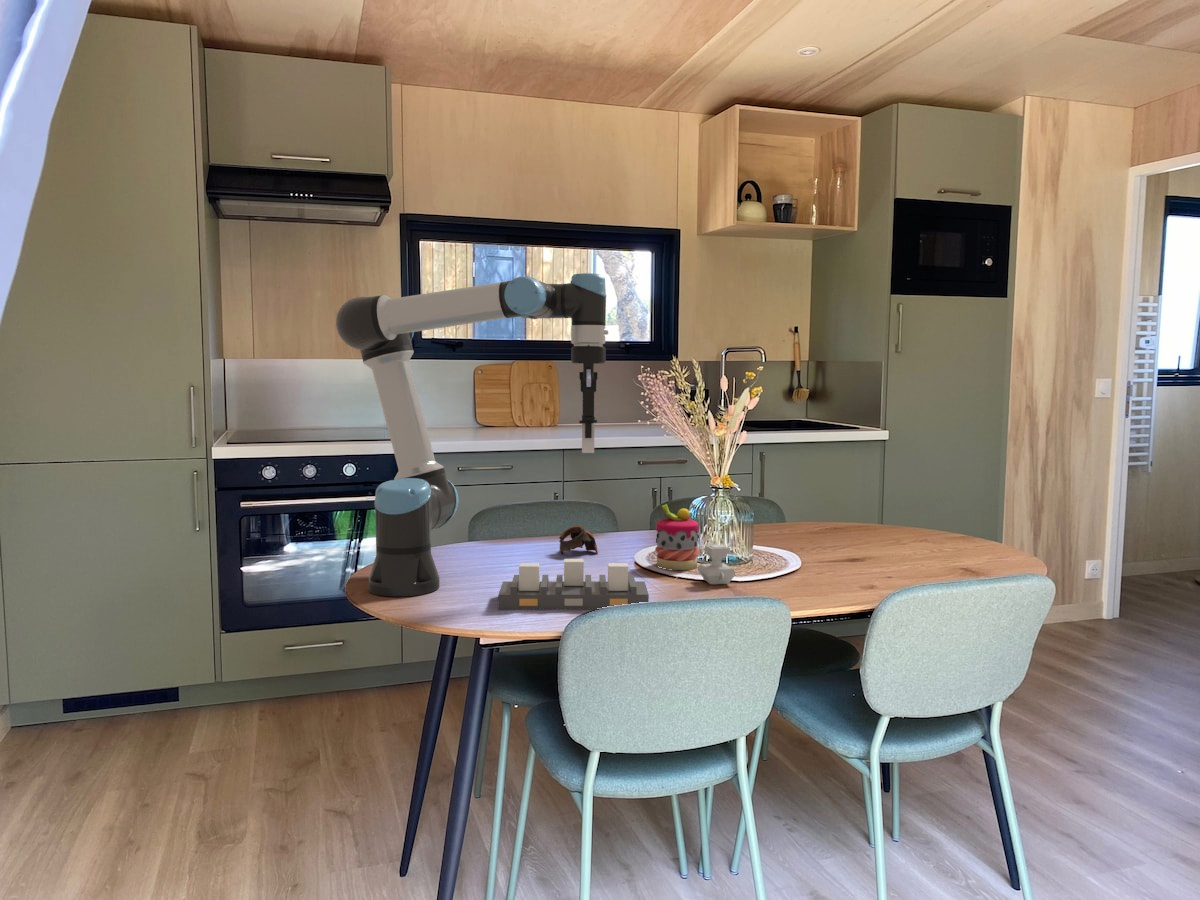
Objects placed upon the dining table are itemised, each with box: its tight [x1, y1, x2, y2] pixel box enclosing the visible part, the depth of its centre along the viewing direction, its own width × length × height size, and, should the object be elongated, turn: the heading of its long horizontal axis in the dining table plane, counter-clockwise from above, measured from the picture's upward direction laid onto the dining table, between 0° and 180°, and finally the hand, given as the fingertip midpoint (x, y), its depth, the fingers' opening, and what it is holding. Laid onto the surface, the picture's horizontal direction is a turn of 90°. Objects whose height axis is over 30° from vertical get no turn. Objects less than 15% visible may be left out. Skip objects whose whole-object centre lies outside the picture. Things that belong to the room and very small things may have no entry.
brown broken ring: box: [559, 525, 599, 555], centre depth 232 cm, size 12×10×8 cm
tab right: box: [607, 562, 629, 591], centre depth 182 cm, size 4×3×5 cm
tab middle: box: [563, 558, 585, 586], centre depth 185 cm, size 4×3×5 cm
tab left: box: [518, 562, 541, 591], centre depth 181 cm, size 4×3×5 cm
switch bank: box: [497, 574, 650, 610], centre depth 183 cm, size 30×11×4 cm, turn 91°
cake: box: [655, 503, 700, 571], centre depth 217 cm, size 10×11×15 cm
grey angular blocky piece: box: [697, 544, 736, 586], centre depth 200 cm, size 9×7×8 cm
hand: (588, 452), depth 197 cm, fingers closed
